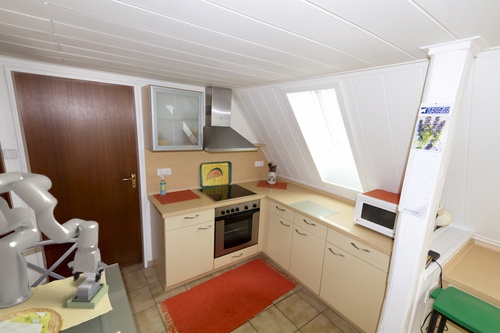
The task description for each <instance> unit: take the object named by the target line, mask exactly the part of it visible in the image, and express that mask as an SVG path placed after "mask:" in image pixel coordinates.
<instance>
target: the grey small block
mask: <svg viewBox="0 0 500 333" xmlns="http://www.w3.org/2000/svg"><path fill="white" fill-rule="evenodd" d="M100 283H101V279H100V280H99V281H98V282H97V283H96V282H95V278H87V279H84V281H82V282H81V283H80V285H78V286H77V289H76V292H77V299H79V300H89V298H90V297H91V296H92V295H93V294H94V293H95V292H96V291H97V290H98V288H99V287H100Z"/></svg>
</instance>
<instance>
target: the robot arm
mask: <svg viewBox="0 0 500 333" xmlns="http://www.w3.org/2000/svg"><path fill="white" fill-rule="evenodd" d="M52 184H53V183H52V181H51V179H50V178H49V177H48V176H46V175H45V174H44V175H43V174H38V173H33V172H32V173H31V172H24V171H23V172H22V171H9V172H4V173H0V194H3V193H7V192H11V191H13V193H14V194H15V195H16V196H17V197H18V198H20V199H21V201H23V203H24V204H26V205H27V206H28V207H29V208H31V209H32V210H33V211H34V212H35V213H36V216H37V217H36V218H37V219H36V221H37V222H36V221H35V219H34V216H33V214H32V213H31V211H29V209H27V208H24V207H22V206H21V207H18V206H17V207H13V208H10V207H9V204H8V202H7V200H6V199H4V198H3V197H2V196H0V236H2V235H6V234H8V233H10V232H12V231H14V232H12V233H10V234H8V235H6V236H4V237H2V238H0V309H5V308H6V309H7V308H11V307H15V306H17V305H20V304H21V303H23V302H26V300H28V299H29V298H31V297H32V295H33V293H34V290H33V288H31V287H29V282H28V280H29V278H28V261H27V259H26V257H25V256H24V255H23V252H24V251H25V250H27V249H28V248H30V247H32V246H33V245H35V244H36V243H38V241H39V240H40V237H41V235H40V231H41V232H42V233H43V235H44V236H46V237H47V238H48V239H50V240H51V241H53V242H54V243H57V244H63V243H67V242H69V241H70V240H72V238H74V237H78V241H77V244H75V248H77V250H76V251H75V255H74V257H73V258H74V259H73V261H70V262H68V263H67V266H68V268H69V270H70V271H71V273H72V274H73V282H77V281H78V280H79V279H80V277H81V273H84V272H95V273H96V275H95V282H96V283H97V282H98V281H99V280H100V281H101V278H102V275H101V273H102V272H103V271H104V272H105V270H106V269H107V267H108V264H107V263H104V262H103V261H102V260H101V253H100V248H98V247H99V246H98V244H99V223H98V222H97V221H95V220H84V219H80V218H72V219H70V220H68V221H66V222H64V223H63V224H60V223H59V222H58V221H57V220H56V219H55V216H54V209H55V208H56V206H57V204H58V200H57V198H55V197H54V196H53V195H52V194H51V193H50V192H49V190H50V189H51V188H52ZM37 224H38V225H37ZM38 228H39V229H38ZM100 267H102V269H101V268H100ZM97 269H98V270H97Z"/></svg>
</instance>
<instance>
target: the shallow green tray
mask: <svg viewBox="0 0 500 333" xmlns="http://www.w3.org/2000/svg"><path fill="white" fill-rule="evenodd" d="M108 292H109V285H107V284H105V283H103V282H100V287H99V288H98V290H97V291H96V292H95V293H94V294H93V295H92V296H91V297H90V298H89V300H79V299H77V291H76V292H75V294H73V295H72V296H71V297H70V298H69V299H68V300H67V301H66V308H67V309H95V308H96V307H97V306H98V305H99V303H100V302H101V300H102V299H103V298H104V297H105V296H106V294H107V293H108ZM104 295H105V296H104Z"/></svg>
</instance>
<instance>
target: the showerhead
mask: <svg viewBox="0 0 500 333" xmlns="http://www.w3.org/2000/svg"><path fill="white" fill-rule="evenodd" d="M100 268H101V269H102V267H101V266H100ZM97 270H98V269H97ZM104 274H105V270H104V271H103V272H102V273H101V276H103V275H104ZM95 275H96V273H95V272H82V278H83V279H84V280H86V279H87V278H95Z"/></svg>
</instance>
